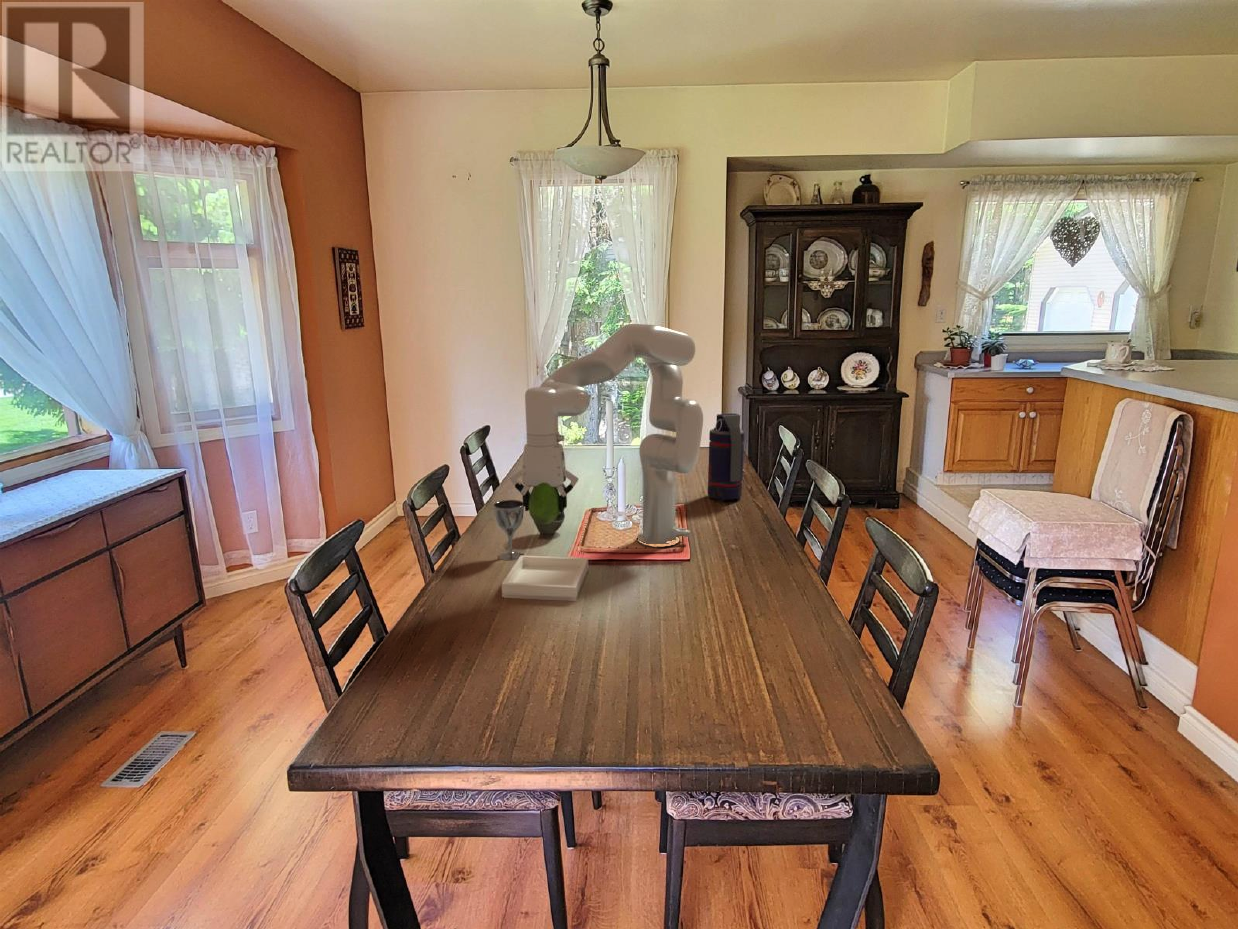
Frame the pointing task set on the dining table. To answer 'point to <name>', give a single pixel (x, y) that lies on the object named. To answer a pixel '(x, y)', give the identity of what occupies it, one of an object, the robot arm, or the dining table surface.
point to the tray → (546, 578)
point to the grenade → (726, 458)
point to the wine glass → (509, 523)
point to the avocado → (544, 503)
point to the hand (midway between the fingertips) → (545, 509)
